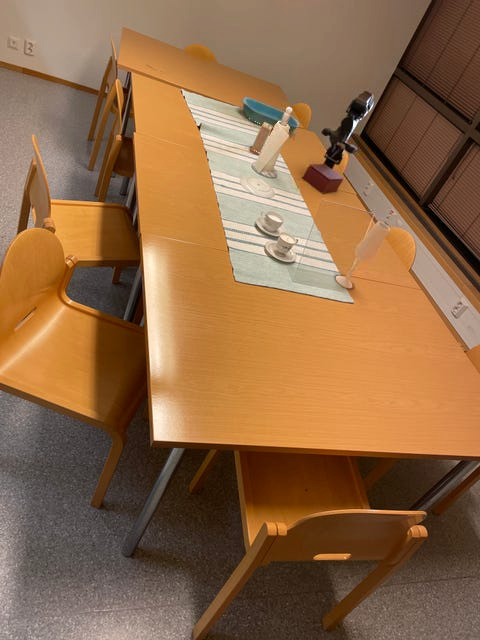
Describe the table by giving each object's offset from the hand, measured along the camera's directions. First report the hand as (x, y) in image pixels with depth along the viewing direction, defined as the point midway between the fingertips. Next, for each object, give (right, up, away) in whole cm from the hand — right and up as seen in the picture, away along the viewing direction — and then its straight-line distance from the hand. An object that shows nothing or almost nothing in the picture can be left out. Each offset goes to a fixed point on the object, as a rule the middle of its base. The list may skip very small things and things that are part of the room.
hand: (330, 157), depth 231 cm
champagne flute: (-8, -66, -65) cm, 93 cm away
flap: (0, -7, +1) cm, 7 cm away
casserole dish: (-29, +35, +44) cm, 63 cm away
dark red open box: (-5, -13, +2) cm, 14 cm away
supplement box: (-37, +3, 0) cm, 37 cm away
